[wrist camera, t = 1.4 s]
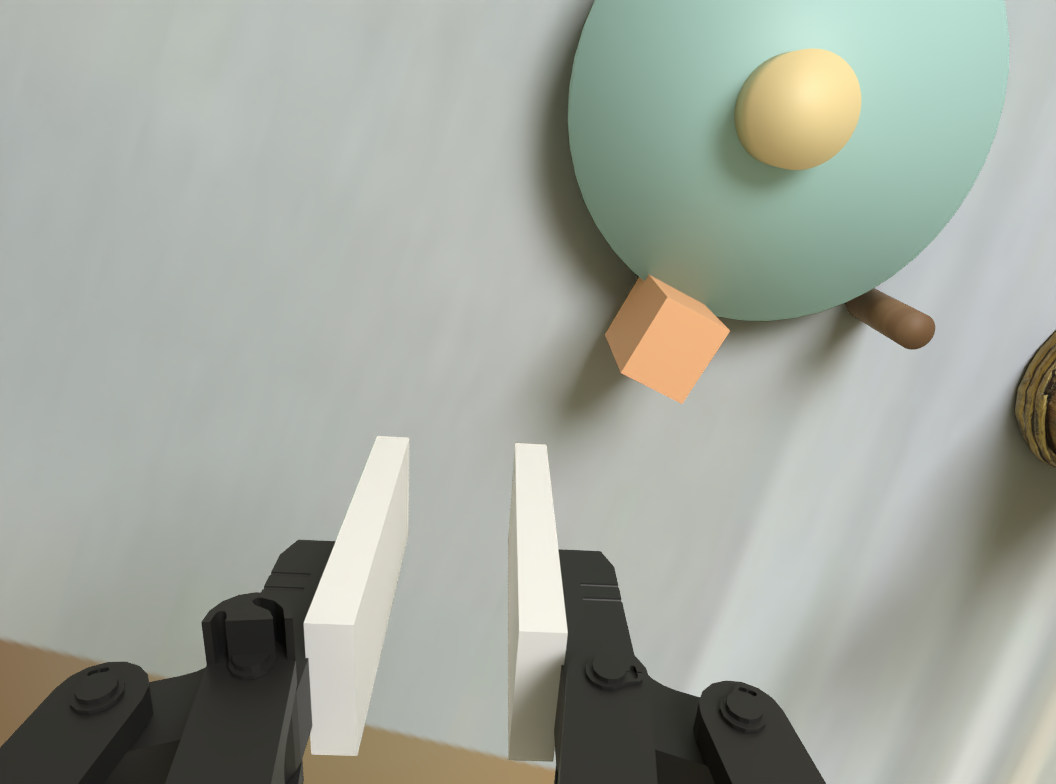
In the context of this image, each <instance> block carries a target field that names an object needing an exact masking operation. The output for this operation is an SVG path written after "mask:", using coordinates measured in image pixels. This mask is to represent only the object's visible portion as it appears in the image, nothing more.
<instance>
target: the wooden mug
mask: <svg viewBox="0 0 1056 784" xmlns="http://www.w3.org/2000/svg"><path fill="white" fill-rule="evenodd" d="M1015 415H1016V418H1017V422H1018V426H1019V430H1020V433H1021V435H1022V436H1023V438H1024V440H1025V441H1026V443H1027V444H1028V446H1029V448H1030V449H1031V451H1032V452H1033V453H1034V455H1035V456H1036V457H1037V458H1038V459H1039V460H1041V461H1043V462H1044V463H1046V464H1049V465H1051V466H1054V467H1056V332H1055V333H1054V334H1053V335H1052V336H1051V337H1050V338H1049V339H1048V340H1047V341H1046V342H1045V343H1044V345H1043V346H1042V347H1041V348H1040V349H1039V350H1038V352H1037V353H1036V355H1035V357H1034V358H1033V360H1032V362H1031V363H1030V365H1029V367H1028V369H1027V371H1026V373H1025V375H1024V377H1023V379H1022V381H1021V383H1020V385H1019V387H1018V391H1017V399H1016V406H1015Z"/></svg>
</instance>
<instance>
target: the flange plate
mask: <svg viewBox="0 0 1056 784" xmlns="http://www.w3.org/2000/svg"><path fill="white" fill-rule="evenodd" d="M1008 72H1009V33H1008V23H1007V14H1006V7H1005V3H1004V0H595V1H594V3H593V6H592V8H591V10H590V13H589V15H588V17H587V20H586V22H585V24H584V27H583V30H582V33H581V37H580V40H579V43H578V47H577V50H576V54H575V57H574V62H573V68H572V74H571V80H570V86H569V100H568V130H569V144H570V151H571V156H572V161H573V166H574V171H575V176H576V178H577V181H578V184H579V187H580V190H581V193H582V196H583V199H584V202H585V204H586V206H587V208H588V210H589V212H590V214H591V216H592V218H593V220H594V222H595V224H596V226H597V227H598V229H599V230H600V231H601V233H602V234H603V236H604V237H605V239H606V240H607V242H608V243H609V245H610V246H611V248H612V249H613V250H614V252H615V253H616V254H617V255H618V256H619V257H620V258H621V259H622V261H623V262H624V263H625V264H626V265H627V266H628V267H629V268H630V269H631V270H632V271H633V272H634V273H635V274H636V275H638V276H639V278H638V280H637V281H636V283H635V285H634V286H633V288H632V290H631V291H630V293H629V295H628V297H627V298H626V300H625V302H624V303H623V305H622V307H621V308H620V310H619V312H618V313H617V315H616V317H615V318H614V320H613V322H612V323H611V325H610V327H609V328H608V330H607V332H606V334H605V336H606V339H607V341H608V344H609V346H610V348H611V351H612V353H613V356H614V358H615V360H616V363H617V365H618V367H619V370H620V372H621V373H622V374H624V375H626V376H628V377H630V378H632V379H634V380H636V381H638V382H640V383H642V384H644V385H646V386H648V387H650V388H652V389H654V390H656V391H658V392H660V393H662V394H664V395H666V396H668V397H670V398H672V399H674V400H675V401H677V402H679V403H681V404H682V403H683V402H684V400H685V399H686V397H687V396H688V394H689V393H690V391H691V390H692V388H693V387H694V385H695V384H696V382H697V380H698V379H699V377H700V376H701V374H702V373H703V371H704V370H705V368H706V367H707V365H708V364H709V362H710V361H711V359H712V358H713V356H714V355H715V353H716V352H717V350H718V349H719V347H720V346H721V344H722V343H723V341H724V340H725V338H726V337H727V335H728V334H729V332H730V330H729V329H728V328H727V327H726V326H725V325H724V324H723V323H722V322H721V321H720V320H719V319H718V318H717V317H724V318H730V319H737V320H748V321H772V320H781V319H791V318H797V317H801V316H805V315H810V314H814V313H818V312H821V311H824V310H827V309H830V308H832V307H835V306H838V305H841V304H844V303H846V302H848V301H850V300H852V299H854V298H856V297H858V296H860V295H862V294H864V293H866V292H868V291H870V290H871V289H873V288H875V287H876V286H878V285H879V284H881V283H882V282H884V281H886V280H887V279H889V278H890V277H892V276H893V275H894V274H896V273H897V272H898V271H899V270H901V269H902V268H903V267H904V266H906V265H907V264H908V263H909V262H911V261H912V260H913V259H914V258H915V257H916V256H917V255H918V254H919V253H920V252H921V251H922V250H924V249H925V248H926V247H927V246H928V245H929V244H930V243H931V242H932V241H933V240H934V239H935V238H936V236H937V235H938V234H939V233H940V231H941V230H942V229H943V228H944V227H945V225H946V224H947V223H948V222H949V220H950V219H951V218H952V217H953V216H954V214H955V213H956V211H957V210H958V208H959V207H960V205H961V204H962V202H963V201H964V199H965V198H966V196H967V194H968V193H969V191H970V190H971V188H972V186H973V184H974V182H975V180H976V178H977V176H978V175H979V173H980V171H981V169H982V167H983V165H984V163H985V161H986V158H987V155H988V153H989V150H990V148H991V145H992V142H993V140H994V137H995V135H996V132H997V128H998V124H999V120H1000V116H1001V113H1002V109H1003V105H1004V100H1005V93H1006V86H1007V79H1008ZM716 316H717V317H716Z"/></svg>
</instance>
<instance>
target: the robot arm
mask: <svg viewBox="0 0 1056 784" xmlns="http://www.w3.org/2000/svg"><path fill="white" fill-rule="evenodd" d="M408 530H409V438H406V437H386V436H377V438H376V440H375V443H374V446H373V448H372V451H371V453H370V456H369V458H368V461H367V463H366V466H365V468H364V471H363V473H362V476H361V479H360V481H359V484H358V486H357V489H356V491H355V494H354V496H353V499H352V501H351V504H350V506H349V509H348V512H347V514H346V517H345V519H344V522H343V524H342V527H341V529H340V532H339V534H338V537H337V539H336V541H314V540H297V541H296V542H295V543H294V544H293V545H291V546H290V547H289V548H288V549H286V550H285V551H284V552H283V553H281V554H280V556H279V558H278V560H277V562H276V564H275V566H274V568H273V570H272V572H271V575H270V576H269V578H268V580H267V582H266V584H265V586H264V590H262V592H261V593H257V592H256V593H249V594H243V595H238V596H235V597H233V598H230V599H228V600H225V601H223V602H221V603H220V604H218V605H217V606H216V607H214V608H213V609H211V610H210V611H209V612H208V614H207V615H206V617H205V618H204V619H203V621H202V630H203V638H204V646H205V654H206V661H207V666H206V668H204V669H201V670H199V671H197V672H194V673H190V674H186V675H183V676H178V677H173V678H168V679H163V680H158V681H154V682H149V680H148V674H147V673H146V672H145V671H144V670H143V669H142V668H141V667H140V666H138V665H135V664H131V663H128V662H107V663H103V664H99V665H96V666H92V667H88V668H86V669H84V670H82V671H80V672H78V673H76V674H74V675H72V676H70V677H69V678H68V679H66V680H65V681H64V682H63V683H62V684H60V685H59V686H58V687H57V688H55V690H53V692H52V693H51V694H50V695H49V696H48V697H47V698H46V699H45V700H44V701H43V702H42V703H41V704H40V706H39V707H38V708H37V709H36V710H35V711H34V712H33V713H32V714H31V715H30V716H29V717H28V718H27V720H26V721H25V722H24V723H23V724H22V725H21V726H20V727H19V728H18V729H17V730H16V731H15V732H14V733H13V735H12V736H11V737H10V738H9V739H8V740H7V741H6V742H5V743H4V744H3V745H2V746H1V748H0V784H303V781H304V779H303V778H304V777H303V763H302V757H303V754H304V751H305V747H306V745H307V741H308V738H309V735H310V739H311V754H312V755H347V756H357V755H358V751H359V746H360V742H361V738H362V733H363V729H364V725H365V720H366V716H367V712H368V708H369V703H370V699H371V695H372V690H373V686H374V682H375V677H376V673H377V669H378V664H379V660H380V656H381V651H382V647H383V643H384V638H385V634H386V630H387V625H388V621H389V617H390V612H391V608H392V604H393V599H394V595H395V591H396V586H397V582H398V578H399V573H400V569H401V565H402V560H403V556H404V552H405V548H406V543H407V539H408ZM508 708H509V760H521V761H553V758H554V750H555V753H556V772H555V780H554V784H826V783H825V781H824V779H823V778H822V776H821V774H820V773H819V771H818V769H817V768H816V766H815V764H814V762H813V761H812V759H811V757H810V756H809V754H808V752H807V751H806V749H805V747H804V745H803V744H802V742H801V740H800V739H799V737H798V735H797V734H796V732H795V730H794V728H793V727H792V725H791V723H790V722H789V720H788V718H787V717H786V715H785V713H784V711H783V710H782V709H781V708H780V706H779V705H778V704H777V703H776V702H775V700H774V699H773V698H772V697H770V696H769V695H767V694H766V693H764V692H763V691H761V690H760V689H758V688H756V687H753V686H751V685H748V684H745V683H743V682H735V681H722V682H718V683H713V684H711V685H710V686H709V687H707V688H706V689H705V690H704V691H703V692H702V695H701V697H696V696H693V695H690V694H686V693H683V692H679V691H676V690H673V689H671V688H668V687H666V686H663V685H662V684H660V683H658V682H657V681H655V680H653V679H652V678H651V677H650V676H649V675H648V673H647V670H646V668H645V667H644V665H643V664H642V663H641V662H640V661H639V660H638V659H637V658H636V657H635V655H634V652H633V648H632V643H631V639H630V635H629V630H628V626H627V622H626V617H625V613H624V609H623V604H622V602H621V595H620V591H619V588H618V582H617V578H616V574H615V569H614V566H613V565H612V564H611V563H610V562H609V561H608V559H607V558H606V557H605V556H604V555H603V554H602V553H601V551H581V550H558V542H557V533H556V524H555V516H554V507H553V498H552V489H551V480H550V471H549V463H548V454H547V445H542V444H522V443H515V452H514V466H513V480H512V495H511V509H510V523H509V537H508Z"/></svg>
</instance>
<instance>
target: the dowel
mask: <svg viewBox="0 0 1056 784" xmlns="http://www.w3.org/2000/svg"><path fill="white" fill-rule="evenodd" d="M846 308H847V311H848V312H849V313H850V314H851V315H852V316H854V317H855V318H857V319H859V320H860V321H862V322H864V323H865V324H867V325H869V326H870V327H872V328H873V329H875V330H877V331H878V332H880V333H882V334H883V335H885V336H886V337H888V338H890V339H891V340H893V341H895V342H896V343H898V344H899V345H901V346H903V347H904V348H907V349H918V348H921V347H923V346H925V345H926V344H927V343H928V342H929V341H930V340H931V339H932V337H933V335H934V332H935V323H934V321H933V319H932V318H931V317H930V316H928V315H926V314H924V313H922V312H920V311H918V310H916V309H914V308H912V307H910V306H908V305H906V304H904V303H902V302H900V301H898V300H896V299H894V298H892V297H890V296H888V295H886V294H884V293H882V292H880V291H878V290H876V289H874V288H873V289H871V290H870V291H868V292H866V293H864V294H862V295H860V296H858V297H856V298H854V299H852V300H850V301H848V302H846Z"/></svg>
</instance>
